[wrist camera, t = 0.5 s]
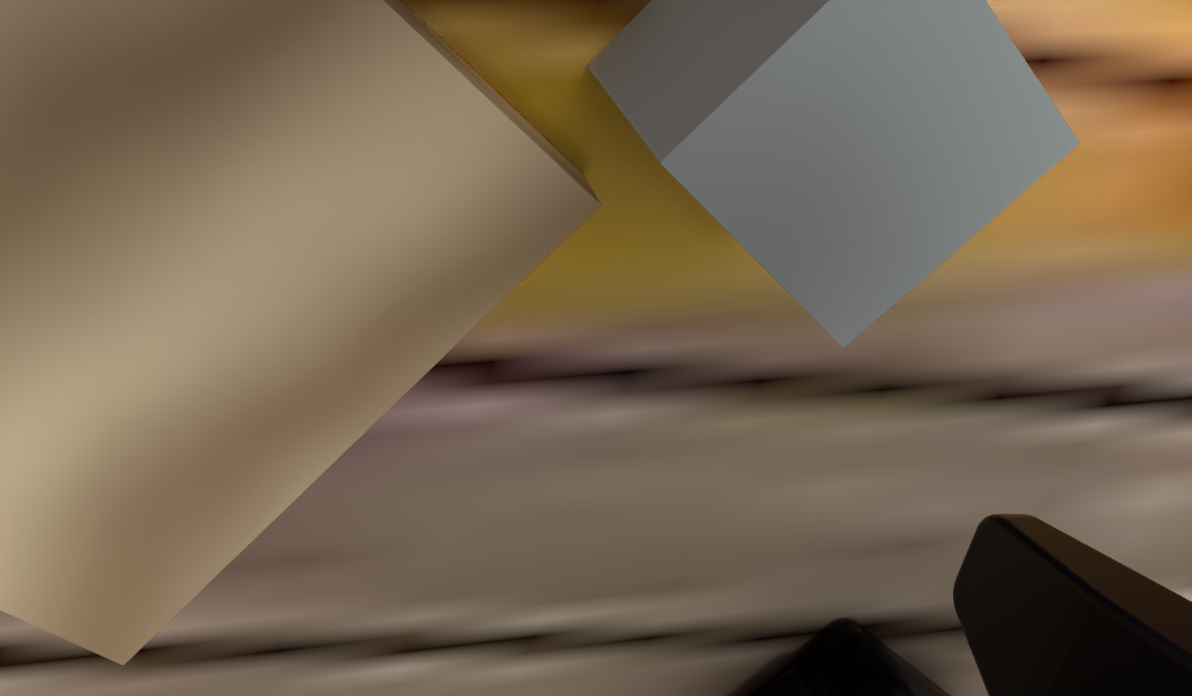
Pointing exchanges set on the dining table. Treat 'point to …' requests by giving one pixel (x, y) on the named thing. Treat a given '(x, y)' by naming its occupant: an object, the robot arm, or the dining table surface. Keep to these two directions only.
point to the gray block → (838, 133)
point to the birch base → (228, 274)
